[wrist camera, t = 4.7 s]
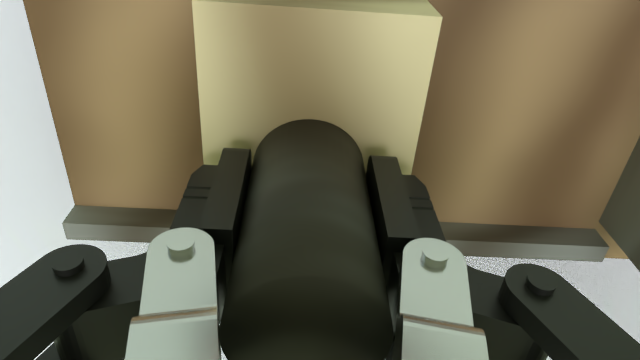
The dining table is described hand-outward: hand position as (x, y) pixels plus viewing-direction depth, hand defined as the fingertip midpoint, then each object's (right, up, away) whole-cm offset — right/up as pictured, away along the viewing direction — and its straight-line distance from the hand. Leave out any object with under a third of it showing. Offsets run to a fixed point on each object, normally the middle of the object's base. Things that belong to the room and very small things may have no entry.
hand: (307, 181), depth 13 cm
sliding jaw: (0, +2, +4) cm, 5 cm away
